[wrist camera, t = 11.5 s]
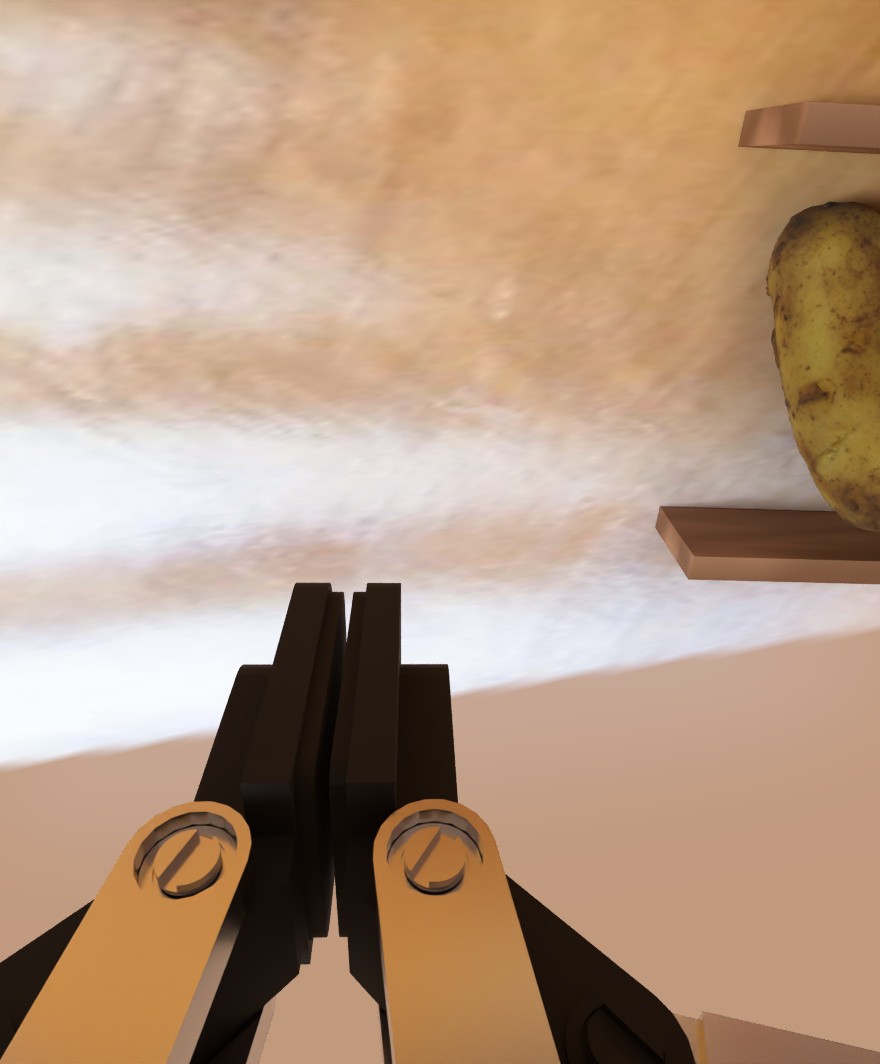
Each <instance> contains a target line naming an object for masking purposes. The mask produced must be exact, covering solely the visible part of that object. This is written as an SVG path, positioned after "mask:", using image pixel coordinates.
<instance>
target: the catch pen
mask: <svg viewBox="0 0 880 1064" xmlns="http://www.w3.org/2000/svg"><path fill="white" fill-rule="evenodd" d="M738 147H756V148H775V149H794V150H814V151H833V152H852V153H871V154H880V105H862V104H844V103H826V102H804V103H797V104H791V105H784V106H778V107H771V108H765V109H758V110H752V111H746V114H745V119H744V123H743V128H742V132H741V137H740V142H739V146H738ZM655 528H656V529H657V531H658V532H659V534H660V536H661V537H662V539H663V540H664V542H665V543H666V545H667V547H668V548H669V550H670V551H671V553H672V554H673V556H674V558H675V559H676V561H677V562H678V564H679V565H680V567H681V569H682V570H683V572H684V573H685V575H686V576H687V578H688V579H695V580H734V581H773V582H812V583H851V584H880V532H876V531H868V530H865V529H861V528H858V527H853V526H852V525H850V524H848V523H847V522H846V521H845V520H843V519H842V518H841V517H840V516H839V515H838V513H837V512H818V511H784V510H751V509H718V508H684V507H660V509H659V513H658V518H657V523H656V527H655Z"/></svg>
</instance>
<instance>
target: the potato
mask: <svg viewBox="0 0 880 1064" xmlns="http://www.w3.org/2000/svg"><path fill="white" fill-rule="evenodd" d="M766 280H767V285H768V286H767V288H766V289H767V293H766V294H767V295H768V296H770V297H771V299H772V301H773V309H774V318H775V328H774V330H773V331H772V337H771V340H772V345H773V348H774V353H775V360H776V364H777V367H778V368H779V370H780V375H781V380H782V389H783V391H784V395H785V402H786V406H787V408H788V413H789V420H790V422H791V426H792V429H793V433H794V437H795V440H796V443H797V446H798V449H799V451H800V453H801V455H802V457H803V458H804V460H805V462H806V464H807V466H808V468H809V471H810V473H811V475H812V478H813V480H814V482H815V484H816V486H817V487H818V489H819V491H820V492H821V494H822V495H823V497H824V498H825V500H826V501H827V502H828V503H829V505H830V506H831V507H832V508H833V509H834V510H835V511H836V512H837V513H838V515H839V516H840V517H841V518H842V519H843V520H845V521H846V522H847V523H848V524H850V525H852V526H853V527H858V528H861V529H865V530H868V531H876V532H880V213H879V212H877V211H876V210H874V209H872V208H870V207H868V206H866V205H863V204H859V203H855V202H848V203H836V202H828V203H826V204H824V205H820V206H813V207H810V208H807V209H805V210H803V211H801V212H800V213H798V214H796V215H795V216H793V217H792V218H790V221H789V223H788V224H787V225H786V227H785V228H784V230H783V232H782V233H781V235H780V237H779V238H778V240H777V242H776V245H775V247H774V250H773V252H772V256H771V259H770V265H769V271H768V275H767V278H766Z"/></svg>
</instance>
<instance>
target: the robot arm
mask: <svg viewBox="0 0 880 1064" xmlns="http://www.w3.org/2000/svg"><path fill="white" fill-rule="evenodd" d="M334 877H335V885H336V899H337V911H338V926H339V936H340V937H348V950H349V967H350V973H351V975H352V976H353V977H354V978H355V979H356V980H357V981H358V982H359V983H360V984H361V985H362V987H363V988H364V989H365V990H366V991H367V992H368V993H369V994H370V996H371V997H372V998H373V999H374V1000H375V1001H376V1002H377V1005H378V1020H379V1031H380V1040H381V1051H382V1062H383V1064H880V1052H877V1051H873V1050H868V1049H864V1048H860V1047H856V1046H851V1045H847V1044H843V1043H838V1042H834V1041H830V1040H825V1039H821V1038H817V1037H812V1036H808V1035H804V1034H799V1033H795V1032H791V1031H786V1030H782V1029H778V1028H774V1027H769V1026H765V1025H761V1024H756V1023H752V1022H748V1021H743V1020H739V1019H735V1018H730V1017H726V1016H722V1015H717V1014H713V1013H709V1012H704V1011H702V1013H701V1015H700V1018H699V1019H695V1018H691V1017H686V1016H682V1015H678V1014H674V1013H672V1012H671V1011H670V1010H668V1008H667V1007H666V1006H665V1005H664V1004H663V1003H662V1002H661V1001H660V1000H659V999H658V998H657V997H656V996H655V995H654V994H652V993H651V992H650V991H649V990H648V989H646V988H645V987H644V986H643V985H641V984H640V983H639V982H638V981H636V980H635V979H634V978H633V977H631V976H630V975H629V974H628V973H626V972H625V971H624V970H623V969H622V968H620V967H619V966H618V965H617V964H616V963H614V962H613V961H612V960H611V959H609V958H608V957H607V956H606V955H604V954H603V953H602V952H601V951H599V950H598V949H597V948H596V947H594V946H593V945H592V944H591V943H590V942H588V941H587V940H586V939H585V938H583V937H582V936H581V935H580V934H578V933H577V932H576V931H575V930H574V929H572V928H571V927H570V926H569V925H567V924H566V923H565V922H564V921H562V920H561V919H560V918H559V917H558V916H556V915H555V914H554V913H552V912H551V911H550V910H549V909H548V908H546V907H545V906H544V905H543V904H542V903H540V902H539V901H538V900H537V899H535V898H534V897H533V896H532V895H530V894H529V893H528V892H527V891H525V890H524V889H523V888H522V887H521V886H519V885H518V884H517V883H516V882H514V881H513V880H512V879H511V878H509V877H508V876H507V875H506V874H505V872H504V869H503V865H502V862H501V859H500V855H499V851H498V848H497V845H496V841H495V839H494V837H493V835H492V833H491V831H490V829H489V827H488V825H487V824H486V823H485V822H484V821H483V820H482V819H481V818H480V817H479V816H478V814H476V813H475V812H474V811H472V810H470V809H468V808H467V807H465V806H463V805H462V804H459V803H458V797H457V782H456V767H455V753H454V739H453V725H452V710H451V695H450V681H449V669H448V664H401V583H367V588H366V592H354V593H353V600H352V607H351V615H350V622H349V630H348V637H347V641H346V620H345V600H344V593H343V592H332V587H331V584H330V583H296V584H295V586H294V589H293V592H292V596H291V600H290V603H289V607H288V611H287V614H286V618H285V622H284V625H283V629H282V632H281V636H280V640H279V643H278V647H277V651H276V654H275V658H274V662H273V665H242V666H241V667H240V669H239V671H238V673H237V675H236V678H235V681H234V684H233V687H232V690H231V693H230V696H229V699H228V702H227V705H226V708H225V711H224V714H223V717H222V720H221V723H220V726H219V729H218V732H217V734H216V737H215V740H214V744H213V747H212V749H211V752H210V755H209V758H208V761H207V764H206V767H205V770H204V773H203V776H202V779H201V782H200V785H199V788H198V791H197V794H196V797H195V800H194V802H190V803H186V804H182V805H178V806H175V807H172V808H171V809H168V810H166V811H164V812H163V813H160V814H158V815H156V816H155V817H154V818H152V819H151V820H150V821H149V822H147V823H146V824H145V825H144V826H142V827H141V828H140V829H139V830H138V831H137V833H136V834H135V835H134V836H133V838H132V839H131V840H130V841H129V843H128V844H127V845H126V847H125V849H124V850H123V852H122V854H121V855H120V857H119V859H118V860H117V862H116V864H115V865H114V868H113V869H112V871H111V872H110V874H109V876H108V877H107V879H106V881H105V883H104V884H103V886H102V888H101V889H100V891H99V893H98V894H97V896H96V898H95V899H94V900H93V901H91V902H90V903H88V904H87V905H85V906H84V907H82V908H81V909H79V910H78V911H77V912H75V913H73V914H72V915H70V916H69V917H67V918H66V919H64V920H63V921H61V922H60V923H59V924H57V925H56V926H54V927H53V928H51V929H50V930H48V931H47V932H45V933H44V934H42V935H41V936H40V937H38V938H36V939H35V940H33V941H32V942H30V943H29V944H27V945H26V946H25V947H23V948H22V949H20V950H19V951H17V952H16V953H14V954H13V955H11V956H10V957H8V958H7V959H5V960H4V961H2V962H1V963H0V1064H259V1061H260V1057H261V1054H262V1050H263V1047H264V1044H265V1041H266V1037H267V1034H268V1030H269V1027H270V1024H271V1021H272V1017H273V1013H274V1007H275V1000H276V994H277V993H278V992H280V991H281V990H282V989H283V988H284V987H285V986H286V985H287V984H288V983H289V982H290V981H292V980H293V979H294V978H295V977H296V976H297V975H298V974H299V970H300V964H310V960H311V952H312V944H313V938H314V937H327V936H328V931H329V923H330V914H331V905H332V895H333V886H334Z"/></svg>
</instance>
